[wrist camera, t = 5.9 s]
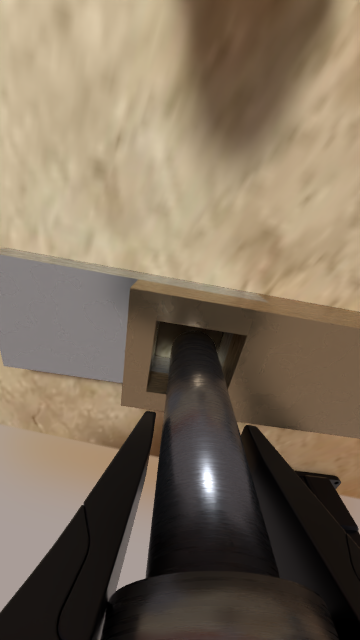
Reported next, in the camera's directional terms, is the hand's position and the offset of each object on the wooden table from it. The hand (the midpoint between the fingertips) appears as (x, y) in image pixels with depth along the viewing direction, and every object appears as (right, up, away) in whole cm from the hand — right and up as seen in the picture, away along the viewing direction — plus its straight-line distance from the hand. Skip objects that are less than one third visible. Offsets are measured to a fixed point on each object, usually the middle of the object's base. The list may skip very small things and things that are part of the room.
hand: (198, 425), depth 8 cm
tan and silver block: (0, +3, +7) cm, 8 cm away
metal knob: (0, +2, +5) cm, 6 cm away
